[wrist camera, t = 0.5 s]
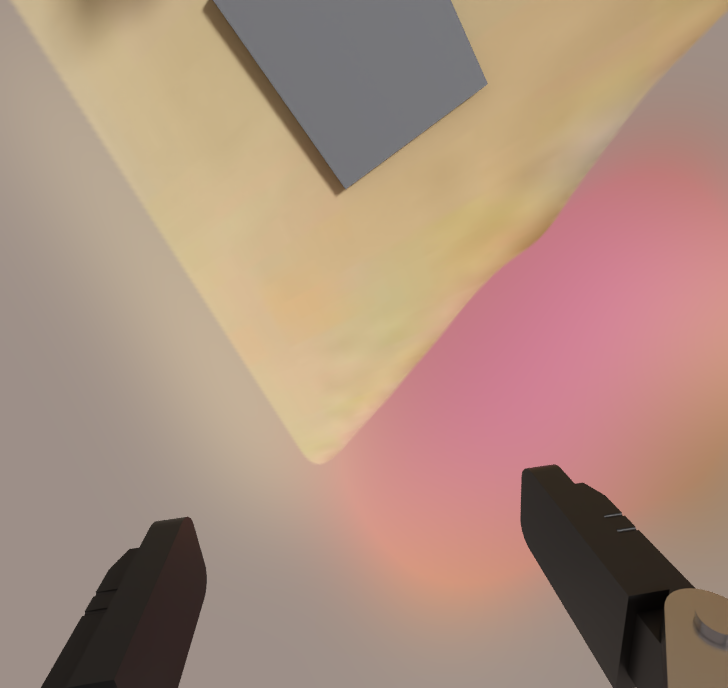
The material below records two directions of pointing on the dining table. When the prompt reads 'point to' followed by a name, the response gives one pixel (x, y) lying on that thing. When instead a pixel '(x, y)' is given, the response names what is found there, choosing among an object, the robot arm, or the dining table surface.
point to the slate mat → (360, 70)
